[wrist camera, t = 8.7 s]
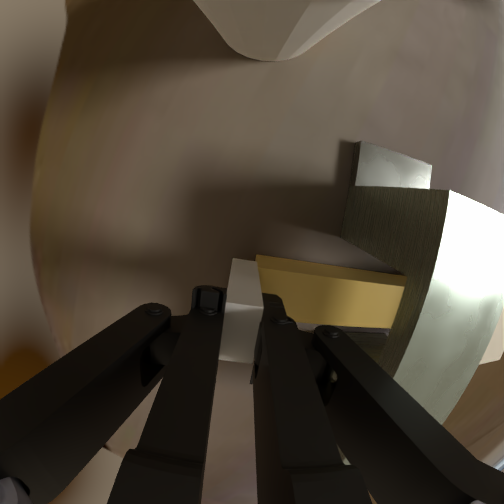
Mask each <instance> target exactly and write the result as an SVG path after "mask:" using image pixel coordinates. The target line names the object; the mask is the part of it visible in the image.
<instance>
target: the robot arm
mask: <svg viewBox="0 0 504 504" xmlns="http://www.w3.org/2000/svg"><path fill="white" fill-rule="evenodd" d="M253 359H255V361H254V366H253V371H252V375H251V380H250V384H253V397H254V424H255V449H256V474H257V498H258V504H372V502H371V499H370V496H369V493H368V491H369V492H370V494H371V495H372V497H373V498H374V500H375V501H376V502H377V504H504V473H503V472H501V471H499V470H497V469H495V468H493V467H491V466H489V465H487V464H485V463H483V462H481V461H479V460H477V459H476V458H475V457H474V456H473V455H472V454H471V453H470V452H469V451H468V450H467V449H466V448H465V447H464V446H463V445H462V444H461V443H460V442H458V441H457V440H456V439H455V438H454V437H453V436H452V435H451V434H450V433H449V432H448V431H447V430H446V429H445V428H444V427H443V426H442V425H441V424H440V423H439V422H438V421H437V420H436V419H435V418H434V417H433V416H432V415H430V414H429V413H428V412H427V411H426V410H425V409H424V408H423V407H422V406H421V405H420V404H419V403H418V402H417V401H416V400H415V399H414V398H413V397H412V396H411V395H410V394H409V393H408V392H406V391H405V390H404V389H403V388H402V387H401V386H400V385H399V384H398V383H397V382H396V381H395V380H394V379H393V378H392V377H391V376H390V375H389V374H388V373H387V372H386V371H384V370H383V369H382V368H381V367H380V366H379V365H378V364H377V363H376V362H375V361H374V360H373V359H372V358H371V357H370V356H369V355H368V354H367V353H366V352H365V351H363V350H362V349H361V348H360V347H359V346H358V345H357V344H356V343H355V342H354V341H353V340H352V339H351V338H350V337H349V336H348V335H347V334H346V333H344V332H343V331H342V330H340V329H338V328H336V327H335V326H331V325H322V326H318V327H316V328H315V331H314V334H312V333H308V332H304V331H301V330H298V328H297V325H296V322H295V321H294V319H292V318H291V317H289V316H287V314H286V311H285V308H284V304H283V301H282V299H281V298H280V297H279V296H278V295H276V294H268V293H262V292H261V285H260V279H259V272H258V267H257V262H256V261H250V260H243V259H236V258H233V260H232V265H231V271H230V277H229V282H228V288H220V287H215V286H207V285H203V286H197V287H195V288H194V289H193V292H192V304H191V310H190V312H189V314H188V315H183V316H171V310H170V309H169V308H168V307H167V306H164V305H162V304H158V303H148V304H143V305H141V306H139V307H137V308H136V309H134V310H133V311H131V312H130V313H128V314H127V315H125V316H124V317H122V318H121V319H119V320H117V321H116V322H114V323H113V324H111V325H110V326H108V327H107V328H105V329H104V330H102V331H101V332H99V333H98V334H96V335H95V336H93V337H92V338H90V339H89V340H87V341H86V342H84V343H83V344H81V345H80V346H78V347H77V348H75V349H74V350H72V351H71V352H69V353H68V354H66V355H65V356H63V357H62V358H60V359H59V360H58V361H56V362H54V363H53V364H51V365H50V366H48V367H47V368H45V369H44V370H42V371H41V372H39V373H38V374H36V375H35V376H34V377H32V378H31V379H29V380H28V381H26V382H25V383H23V384H22V385H20V386H19V387H18V388H16V389H15V390H13V391H12V392H10V393H9V394H8V395H6V396H5V397H3V398H2V399H1V400H0V504H48V503H49V502H51V501H52V500H53V499H54V498H56V497H57V496H58V495H59V494H60V493H61V492H62V491H63V490H64V489H65V488H66V486H68V485H69V483H70V482H71V481H72V480H73V479H74V478H75V477H76V476H77V475H78V473H79V472H80V471H81V470H82V469H83V468H84V467H85V466H86V464H87V463H88V462H89V461H90V460H91V459H92V458H93V457H94V455H95V454H96V453H97V452H98V451H99V450H100V449H101V448H102V447H103V445H104V444H105V443H106V442H107V441H108V440H109V439H110V437H111V436H112V435H113V434H114V433H115V432H116V431H117V430H118V428H119V427H120V426H121V425H122V424H123V423H124V422H125V420H126V419H127V418H128V417H129V416H130V415H131V413H132V412H133V411H134V410H135V409H136V408H137V407H138V405H139V404H140V403H141V402H142V401H143V400H144V398H145V397H146V396H147V395H148V394H149V393H150V392H151V390H152V389H153V388H154V387H155V386H156V385H157V383H158V382H159V381H160V380H161V379H162V378H163V379H162V381H161V384H160V387H159V389H158V392H157V394H156V397H155V400H154V402H153V405H152V408H151V410H150V413H149V416H148V418H147V421H146V424H145V426H144V429H143V432H142V435H141V437H140V440H139V443H138V445H137V447H136V448H135V449H129V450H128V451H127V452H126V454H125V456H124V458H123V461H122V463H121V466H120V468H119V471H118V474H117V477H116V479H115V482H114V485H113V488H112V491H111V493H110V497H109V499H108V502H107V504H201V497H202V488H203V479H204V470H205V462H206V453H207V445H208V437H209V429H210V421H211V413H212V405H213V398H214V390H215V383H216V375H217V368H218V360H226V361H233V362H241V363H250V364H253ZM334 371H335V373H336V375H337V380H336V381H335V380H334V379H333V378H332V376H333V373H334ZM336 443H337V444H336ZM337 445H338V447H339V448H340V450H341V451H342V453H343V454H344V456H345V457H346V459H347V460H348V462H349V463H350V465H345V464H344V463H343V461H342V459H341V456H340V453H339V450H338V447H337Z"/></svg>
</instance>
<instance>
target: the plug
mask: <svg viewBox="0 0 504 504" xmlns="http://www.w3.org/2000/svg"><path fill="white" fill-rule="evenodd" d="M255 261H256V262H257V267H258V272H259V279H260V285H261V292H262V293H268V294H276V295H278V296H279V297H280V298H281V299H282V301H283V304H284V308H285V311H286V314H287V316H289V317H291V318H292V319H294V321H295V322H302V323H313V324H325V325H338V326H353V327H371V328H391V327H392V324H393V321H394V319H395V316H396V313H397V310H398V307H399V304H400V301H401V297H402V294H403V291H404V287H405V284H406V281H407V276H402V275H395V274H388V273H381V272H375V271H368V270H361V269H354V268H347V267H340V266H333V265H326V264H319V263H313V262H306V261H299V260H292V259H285V258H278V257H272V256H265V255H258V254H256V259H255ZM503 351H504V307H503V310H502V312H501V315H500V318H499V320H498V323H497V325H496V328H495V330H494V333H493V335H492V337H491V340H490V342H489V344H488V346H487V349H486V351H485V353H484V355H483V357H482V359H481V361H480V363H479V364H483V363H487V362H492V361H496V360H500V358H501V355H502V353H503Z"/></svg>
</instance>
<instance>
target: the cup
mask: <svg viewBox="0 0 504 504" xmlns="http://www.w3.org/2000/svg"><path fill="white" fill-rule="evenodd" d="M193 1H194V2H195V3H196V5H197V6H198V7H199V8H200V9H201V11H202V12H203V13H204V14H205V16H206V17H207V18H208V19H209V21H210V22H211V23H212V24H213V26H214V27H215V28H216V30H217V31H218V32H219V34H220V35H221V36H222V38H223V39H224V40H225V42H226V43H227V44H228V46H230V47H231V48H232V49H233V50H235V51H236V52H237V53H239V54H242V55H244V56H246V57H248V58H252V59H256V60H260V61H274V62H275V61H283V60H288V59H291V58H294V57H297V56H299V55H301V54H302V53H304V52H305V51H306V50H308V49H309V48H310V47H312V46H313V45H314V44H316V43H317V42H319V41H320V40H321V39H323V38H324V37H325V36H327V35H328V34H330V33H331V32H332V31H334V30H335V29H337V28H338V27H340V26H341V25H343V24H344V23H346V22H347V21H349V20H350V19H352V18H353V17H355V16H356V15H358V14H360V13H361V12H363V11H364V10H366V9H368V8H369V7H371V6H373V5H374V4H376V3H378V2H380V1H381V0H193Z"/></svg>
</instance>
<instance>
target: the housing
mask: <svg viewBox="0 0 504 504" xmlns="http://www.w3.org/2000/svg"><path fill="white" fill-rule="evenodd" d="M431 169H432V165H430V164H427V163H425V162H422V161H420V160H417V159H414V158H412V157H409V156H406V155H404V154H401V153H398V152H395V151H392V150H389V149H386V148H383V147H380V146H377V145H374V144H371V143H367V142H364V141H359V142H356V143H355V150H354V158H353V165H352V172H351V179H350V186H349V192H348V198H347V204H346V209H345V215H344V220H343V226H342V231H341V236H340V237H341V238H343V239H345V240H346V241H348V242H350V243H352V244H353V245H355V246H357V247H359V248H360V249H362V250H364V251H365V252H367V253H369V254H371V255H372V256H374V257H376V258H377V259H379V260H381V261H382V262H384V263H386V264H387V265H389V266H391V267H392V268H394V269H396V270H397V271H399V272H400V273H402V274H404V275H405V276H407V281H406V284H405V287H404V291H403V294H402V297H401V301H400V304H399V307H398V310H397V313H396V316H395V319H394V321H393V324H392V327H391V330H390V332H389V335H388V336H387V335H386V334H385V333H359V332H344V333H346V334H347V335H348V336H349V337H350V338H351V339H352V340H353V341H354V342H355V343H356V344H357V345H358V346H359V347H360V348H361V349H362V350H363V351H365V352H366V353H367V354H368V355H369V356H370V357H371V358H372V359H373V360H374V361H375V362H376V363H377V364H378V365H379V366H380V367H381V368H382V369H383V370H384V371H386V372H387V373H388V374H389V375H390V376H391V377H392V378H393V379H394V380H395V381H396V382H397V383H398V384H399V385H400V386H401V387H402V388H403V389H404V390H405V391H406V392H408V393H409V394H410V395H411V396H412V397H413V398H414V399H415V400H416V401H417V402H418V403H419V404H420V405H421V406H422V407H423V408H424V409H425V410H426V411H427V412H428V413H429V414H430V415H432V416H433V417H434V418H435V419H436V420H437V421H438V422H439V423H440V424H441V425H442V424H443V422H444V421H445V420H446V418H447V417H448V415H449V414H450V412H451V411H452V409H453V408H454V406H455V405H456V403H457V402H458V400H459V398H460V397H461V395H462V394H463V392H464V390H465V389H466V387H467V385H468V383H469V382H470V380H471V378H472V376H473V374H474V373H475V371H476V369H477V367H478V365H479V363H480V361H481V359H482V357H483V355H484V353H485V351H486V349H487V346H488V344H489V342H490V340H491V337H492V335H493V333H494V330H495V328H496V325H497V323H498V320H499V318H500V315H501V312H502V310H503V307H504V215H502V214H501V213H499V212H497V211H495V210H492V209H490V208H488V207H486V206H484V205H482V204H480V203H478V202H475V201H473V200H471V199H469V198H466V197H464V196H462V195H459V194H457V193H455V192H452V191H449V190H437V189H429V186H430V178H431ZM332 378H333V379H334V380H335V381H336V380H337V375H336V373H335V371H334V373H333V376H332ZM336 444H337V443H336ZM337 447H338V445H337ZM338 450H339V453H340V456H341V459H342V461H343V463H344V464H345V465H350V463H349V462H348V460H347V459H346V457H345V456H344V454H343V453H342V451H341V450H340V448H339V447H338Z"/></svg>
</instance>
